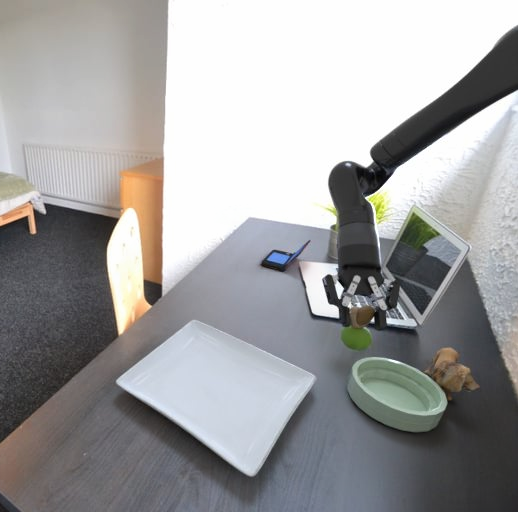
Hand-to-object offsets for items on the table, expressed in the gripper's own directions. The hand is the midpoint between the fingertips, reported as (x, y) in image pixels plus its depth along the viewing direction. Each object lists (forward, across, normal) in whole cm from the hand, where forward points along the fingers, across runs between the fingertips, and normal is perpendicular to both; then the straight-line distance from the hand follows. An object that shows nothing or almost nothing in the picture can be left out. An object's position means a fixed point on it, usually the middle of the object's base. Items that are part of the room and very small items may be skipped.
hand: (363, 327), depth 73 cm
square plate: (+16, -28, -4) cm, 33 cm away
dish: (+13, +3, -1) cm, 14 cm away
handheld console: (-25, -6, +38) cm, 46 cm away
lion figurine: (+10, +14, +3) cm, 17 cm away
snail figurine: (+4, 0, +6) cm, 7 cm away
